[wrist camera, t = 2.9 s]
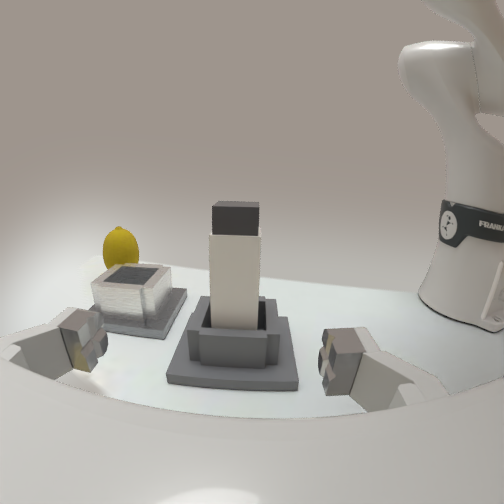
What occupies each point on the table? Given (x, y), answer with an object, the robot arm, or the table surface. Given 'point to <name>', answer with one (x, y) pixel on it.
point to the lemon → (120, 248)
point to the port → (137, 299)
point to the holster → (235, 353)
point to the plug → (234, 265)
